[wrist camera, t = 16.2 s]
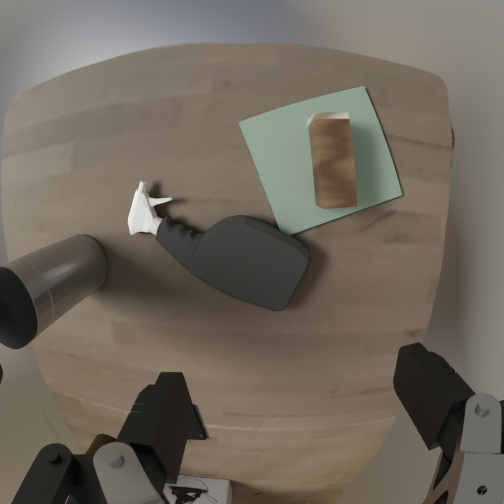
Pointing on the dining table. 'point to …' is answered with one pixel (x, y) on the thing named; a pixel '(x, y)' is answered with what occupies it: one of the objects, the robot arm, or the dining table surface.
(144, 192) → the spray bottle
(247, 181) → the dining table surface
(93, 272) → the robot arm
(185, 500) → the cereal box
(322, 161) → the walnut block
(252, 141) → the rubber mat
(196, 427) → the handheld gaming console
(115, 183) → the dining table surface
